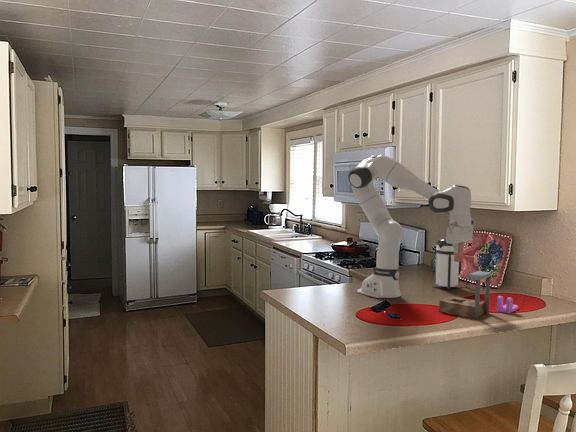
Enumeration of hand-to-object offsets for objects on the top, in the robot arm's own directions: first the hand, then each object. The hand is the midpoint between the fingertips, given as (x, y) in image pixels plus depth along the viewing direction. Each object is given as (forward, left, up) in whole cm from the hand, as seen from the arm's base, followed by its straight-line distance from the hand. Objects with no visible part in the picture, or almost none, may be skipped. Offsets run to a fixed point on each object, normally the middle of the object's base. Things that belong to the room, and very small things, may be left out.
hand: (458, 252), depth 226 cm
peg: (0, 0, -4) cm, 4 cm away
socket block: (+2, +1, -27) cm, 27 cm away
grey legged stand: (+9, +1, -27) cm, 29 cm away
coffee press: (-25, +47, -27) cm, 59 cm away
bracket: (+16, +20, -28) cm, 38 cm away
